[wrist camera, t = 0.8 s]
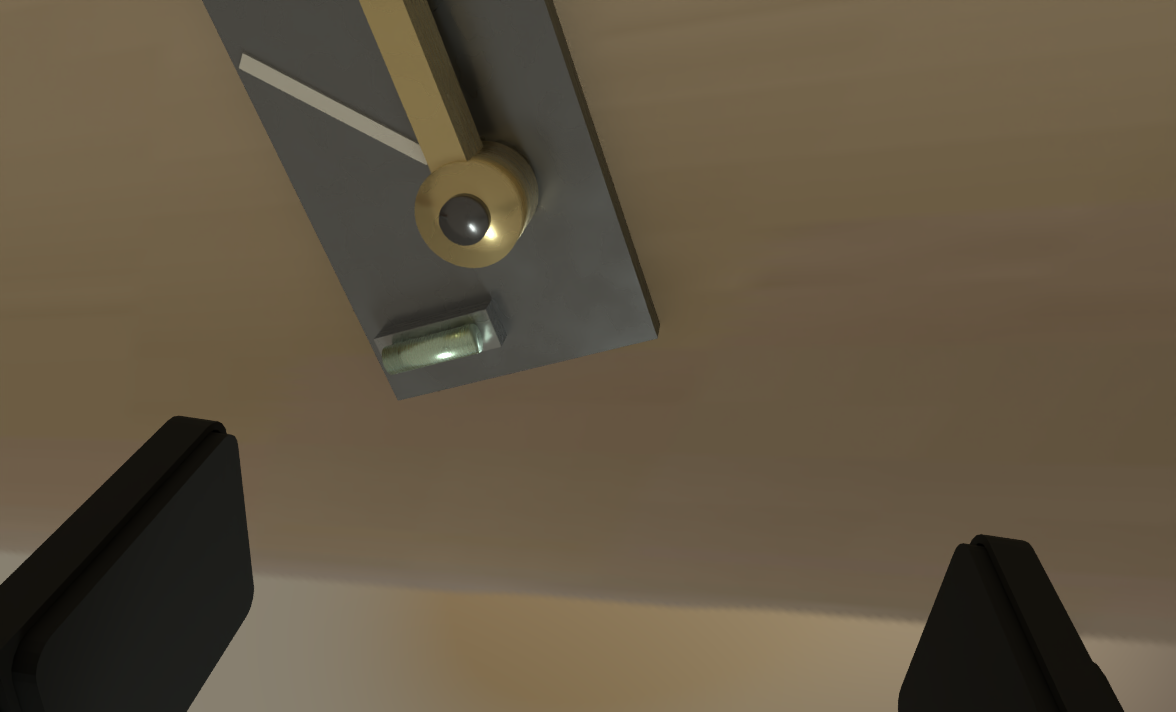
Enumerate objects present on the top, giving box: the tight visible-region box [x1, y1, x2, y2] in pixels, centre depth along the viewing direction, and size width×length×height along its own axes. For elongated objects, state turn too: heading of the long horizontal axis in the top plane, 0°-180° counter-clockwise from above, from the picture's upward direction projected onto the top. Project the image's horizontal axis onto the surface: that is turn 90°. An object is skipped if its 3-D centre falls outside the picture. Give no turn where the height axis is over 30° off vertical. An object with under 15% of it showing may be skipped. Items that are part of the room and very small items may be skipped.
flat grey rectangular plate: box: [202, 0, 660, 400], centre depth 37 cm, size 14×23×4 cm, turn 19°
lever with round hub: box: [359, 0, 539, 268], centre depth 34 cm, size 4×15×4 cm, turn 19°
